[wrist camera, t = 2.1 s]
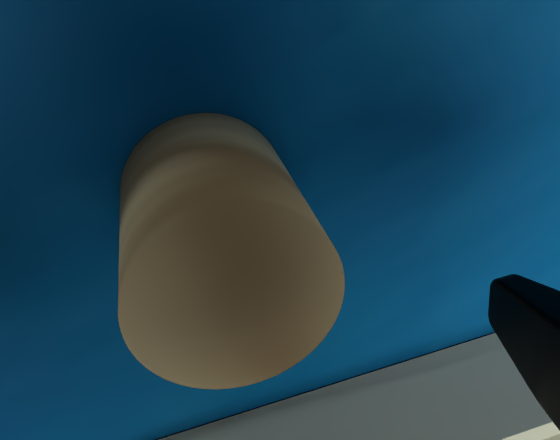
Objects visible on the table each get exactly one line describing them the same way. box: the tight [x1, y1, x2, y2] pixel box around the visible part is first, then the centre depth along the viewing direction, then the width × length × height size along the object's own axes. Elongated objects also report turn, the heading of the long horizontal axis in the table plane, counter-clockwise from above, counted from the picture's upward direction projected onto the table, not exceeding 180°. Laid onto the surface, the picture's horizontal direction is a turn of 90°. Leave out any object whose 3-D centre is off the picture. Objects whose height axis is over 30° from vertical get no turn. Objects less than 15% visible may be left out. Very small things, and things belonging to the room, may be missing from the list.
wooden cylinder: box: [118, 113, 345, 389], centre depth 12 cm, size 4×4×5 cm
